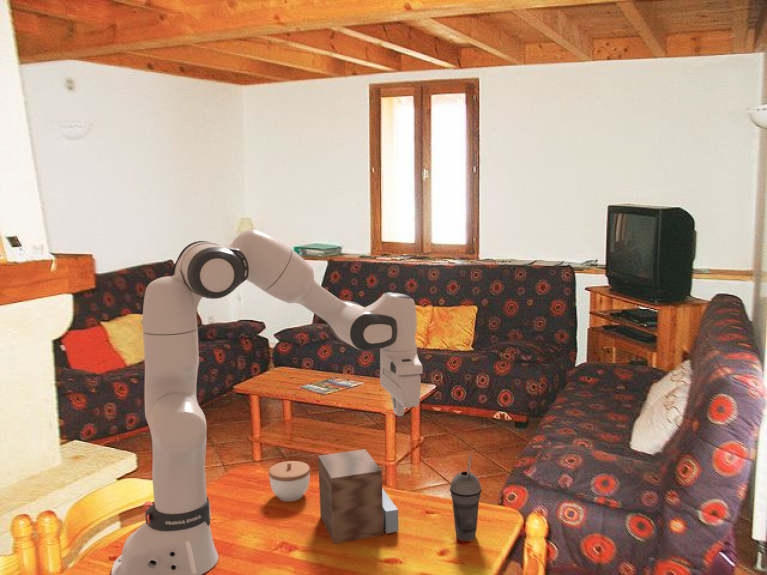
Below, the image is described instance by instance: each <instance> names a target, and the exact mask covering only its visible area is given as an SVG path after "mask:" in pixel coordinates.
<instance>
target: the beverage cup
mask: <svg viewBox="0 0 767 575" xmlns="http://www.w3.org/2000/svg"><path fill="white" fill-rule="evenodd" d="M468 456H469V457H468V463H467V464H468V465H467V470H466V471H460V472H459V473H457V474H456V475H455V476H454V477H453V478H452V480H451V483H450V488H449V492H450V495H451V500H452V501H451V502H452V508H453V521H454V529H455V537H456V539H458V540H460V541H464V542H469V541H473V540H475V538H476V535H477V534H476V533H477V528H478V527H477V525H478V515H479V505H480V504H479V503H480V498H481V494H482V486H481V483H480V480H479V479H478V477H477V476H476V475H475V474H473V473H472V472H470V471H471V464H472V463H471V462H472V455H471V454H469V455H468Z"/></svg>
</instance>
